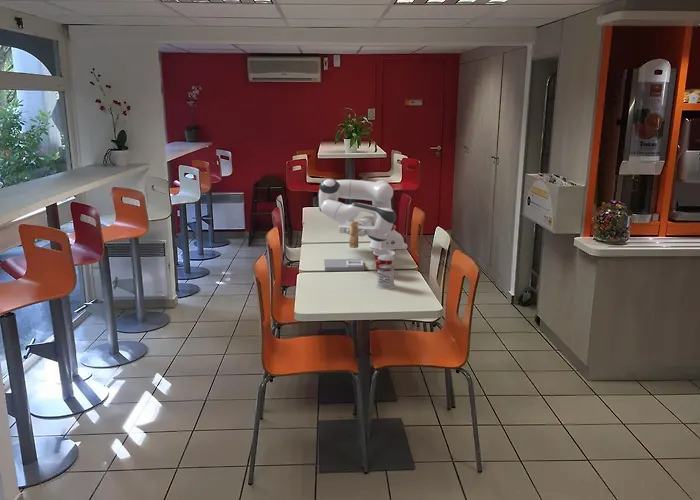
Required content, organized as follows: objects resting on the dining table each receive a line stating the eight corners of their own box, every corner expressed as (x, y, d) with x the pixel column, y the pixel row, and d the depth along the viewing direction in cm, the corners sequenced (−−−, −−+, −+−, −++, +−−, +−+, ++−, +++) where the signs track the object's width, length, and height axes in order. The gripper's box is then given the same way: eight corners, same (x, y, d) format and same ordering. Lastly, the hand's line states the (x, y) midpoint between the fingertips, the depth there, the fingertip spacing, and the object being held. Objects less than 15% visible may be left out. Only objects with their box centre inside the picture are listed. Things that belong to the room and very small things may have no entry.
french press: (390, 290, 266) (391, 237, 260) (368, 286, 272) (368, 234, 266) (399, 285, 274) (401, 233, 268) (378, 281, 280) (379, 230, 274)
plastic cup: (379, 279, 284) (380, 255, 281) (368, 273, 293) (369, 250, 290) (398, 276, 289) (399, 252, 286) (387, 271, 298) (387, 248, 295)
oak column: (356, 245, 303) (356, 220, 300) (359, 247, 299) (359, 222, 296) (348, 246, 301) (348, 221, 298) (351, 248, 297) (351, 223, 294)
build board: (361, 262, 314) (361, 257, 313) (364, 270, 299) (364, 264, 298) (324, 262, 313) (324, 257, 312) (324, 271, 297) (324, 265, 297)
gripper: (380, 234, 308) (372, 240, 295) (343, 232, 314) (334, 237, 301) (380, 223, 306) (373, 228, 293) (343, 220, 313) (334, 225, 300)
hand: (353, 232), depth 297 cm, fingers closed on oak column, 4 cm apart
